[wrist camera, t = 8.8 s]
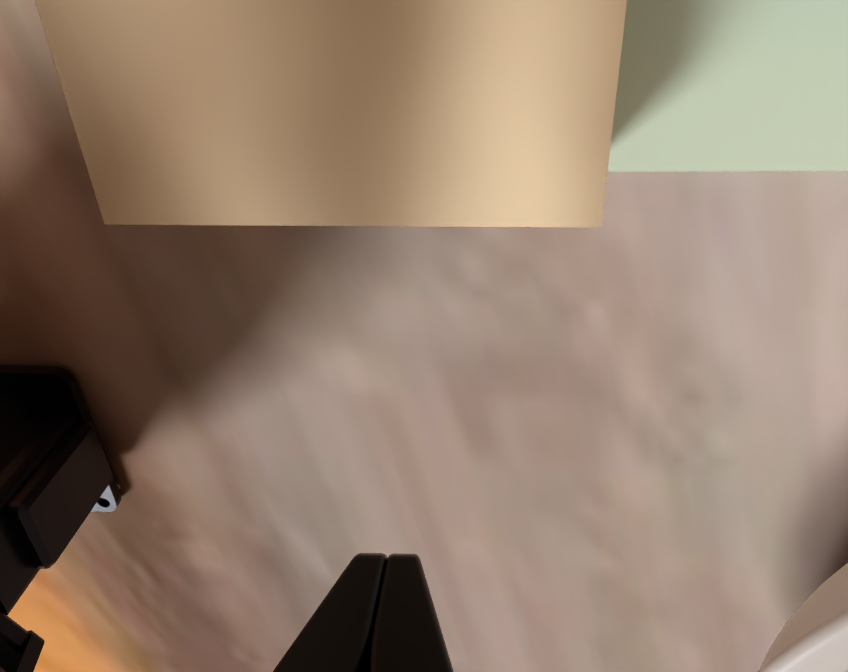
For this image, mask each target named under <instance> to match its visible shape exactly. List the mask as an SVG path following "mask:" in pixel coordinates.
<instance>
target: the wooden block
mask: <svg viewBox="0 0 848 672" xmlns="http://www.w3.org/2000/svg"><path fill="white" fill-rule="evenodd" d="M35 3H36V6H37V9H38V12H39V16H40V19H41V22H42V25H43V28H44V32H45V35H46V38H47V41H48V44H49V48H50V51H51V54H52V57H53V61H54V64H55V67H56V70H57V73H58V77H59V80H60V83H61V86H62V90H63V93H64V96H65V99H66V102H67V106H68V109H69V112H70V115H71V119H72V122H73V125H74V128H75V131H76V135H77V138H78V141H79V144H80V147H81V151H82V154H83V157H84V160H85V164H86V167H87V170H88V173H89V176H90V180H91V183H92V186H93V189H94V193H95V196H96V199H97V202H98V205H99V209H100V212H101V215H102V218H103V222H104V225H253V226H438V227H601V224H602V216H603V207H604V198H605V189H606V181H607V172H608V163H609V154H610V146H611V137H612V128H613V119H614V111H615V102H616V93H617V84H618V76H619V67H620V58H621V49H622V41H623V32H624V23H625V14H626V6H627V0H35Z"/></svg>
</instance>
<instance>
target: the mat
mask: <svg viewBox="0 0 848 672" xmlns="http://www.w3.org/2000/svg"><path fill="white" fill-rule="evenodd" d="M617 171H848V0H627V6H626V14H625V23H624V32H623V41H622V49H621V58H620V67H619V76H618V84H617V93H616V102H615V111H614V119H613V128H612V137H611V146H610V154H609V163H608V172H617Z"/></svg>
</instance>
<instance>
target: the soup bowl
mask: <svg viewBox="0 0 848 672" xmlns="http://www.w3.org/2000/svg"><path fill="white" fill-rule="evenodd" d="M758 672H848V563H847V564H845V565H844V566H843V567H842V568H840V569H839V570H838V571H837V572H835V573H834V574H833V575H832V576H830V577H829V578H828V579H827V580H826V581H825V582H824V583H823V584H821V585H820V586H819V587H818V588H817V589H816V590H815V591H814V592H813V593H812V594H811V595H810V596H809V597H808V598H807V599H806V600H805V601H804V603H803V604H802V605H801V606H800V607H799V609H798V610H797V611H796V612H795V613H794V614H793V616H792V617H791V618H790V619H789V620H788V621H787V623H786V624H785V626H784V627H783V629H782V630H781V632H780V633H779V635H778V636H777V638H776V639H775V641H774V643H773V644H772V646H771V647H770V649H769V651H768V653H767V655H766V657H765V659H764V661H763V663H762V665H761V667H760V669H759V671H758Z"/></svg>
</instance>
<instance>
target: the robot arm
mask: <svg viewBox="0 0 848 672" xmlns="http://www.w3.org/2000/svg"><path fill="white" fill-rule="evenodd" d="M57 381H58V382H60V383H61V384H60V383H58V382H57ZM120 501H121V494H120V492H119V489H118V486H117V484H116V481H115V479H114V476H113V473H112V471H111V468H110V466H109V463H108V461H107V458H106V455H105V453H104V450H103V448H102V445H101V442H100V440H99V437H98V435H97V432H96V429H95V427H94V424H93V422H92V419H91V416H90V414H89V411H88V409H87V406H86V403H85V401H84V398H83V396H82V393H81V391H80V388H79V385H78V383H77V380H76V378H75V377H74V375H73V374H72V373H71V372H70V371H68V370H66V369H64V368H60V367H41V366H6V365H0V672H33V671H34V668H35V666H36V663H37V660H38V658H39V655H40V653H41V650H42V648H43V645H44V640H43V639H42V638H41V637H39V636H38V635H37V634H36V633H34V632H33V631H32V630H31V631H26V630H25V629H23V628H22V627H21V626H20V625H18V624H17V623H16V622H14V621H13V620H12V619H11V618H9V617H8V616H7V615H8V614H9V612H10V611H11V609H12V608H13V607H14V605H15V604H16V602H17V601H18V599H19V598H20V597H21V595H22V594H23V592H24V591H25V590H26V588H27V587H28V585H29V584H30V582H31V581H32V580H33V578H34V577H35V575H36V574H37V572H38V571H39V570H40V568H44V569H47V568H50V567H51V566H52V565H53V564H54V563H55V562H56V561H57V559H58V558H59V556H60V555H61V554H62V552H63V551H64V549H65V548H66V546H67V545H68V543H69V542H70V540H71V539H72V538H73V536H74V535H75V533H76V532H77V530H78V529H79V527H80V526H81V524H82V523H83V522H84V520H85V519H86V517H87V516H88V514H89V513H90V511H97V512H112V511H114V510H115V509H116V507H117V506H118V504H119V503H120ZM273 672H453V668H452V665H451V662H450V658H449V655H448V652H447V648H446V645H445V641H444V638H443V635H442V631H441V628H440V625H439V621H438V618H437V615H436V611H435V608H434V605H433V601H432V598H431V595H430V591H429V588H428V584H427V581H426V578H425V574H424V571H423V568H422V564H421V561H420V558H419V557H418V555H416V554H391V555H389V557H388V558H387V556H386V555H385V554H382V553H360V554H357V555H356V556H355V557H354V558H353V559H352V560H351V562H350V563H349V565H348V566H347V567H346V569H345V570H344V572H343V573H342V575H341V576H340V577H339V579H338V580H337V582H336V583H335V584H334V586H333V587H332V589H331V590H330V591H329V593H328V594H327V596H326V597H325V599H324V600H323V601H322V603H321V604H320V606H319V607H318V608H317V610H316V611H315V613H314V614H313V616H312V617H311V618H310V620H309V621H308V623H307V624H306V625H305V627H304V628H303V630H302V631H301V633H300V634H299V635H298V637H297V638H296V640H295V641H294V642H293V644H292V645H291V647H290V648H289V650H288V651H287V652H286V654H285V655H284V657H283V658H282V659H281V661H280V662H279V664H278V665H277V666H276V668H275V669H274V671H273Z"/></svg>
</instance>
